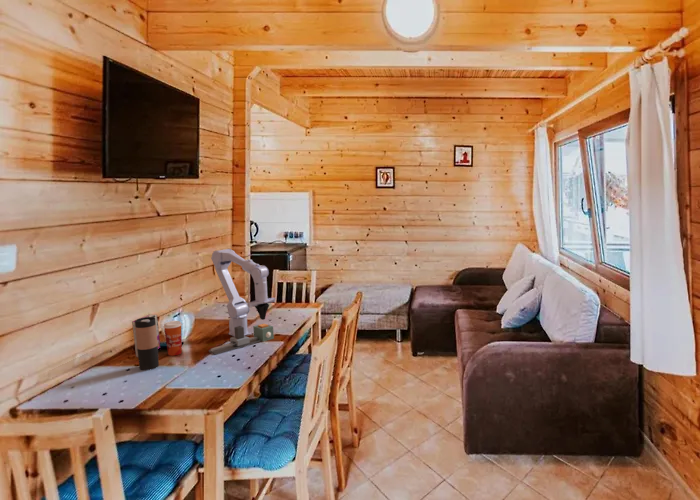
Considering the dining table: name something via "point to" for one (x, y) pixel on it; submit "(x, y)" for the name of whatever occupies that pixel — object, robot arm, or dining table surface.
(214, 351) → the rail
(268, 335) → the cabinet
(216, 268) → the robot arm
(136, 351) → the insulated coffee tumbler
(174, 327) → the paper cup
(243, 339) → the carriage
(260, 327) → the button
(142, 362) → the travel mug
